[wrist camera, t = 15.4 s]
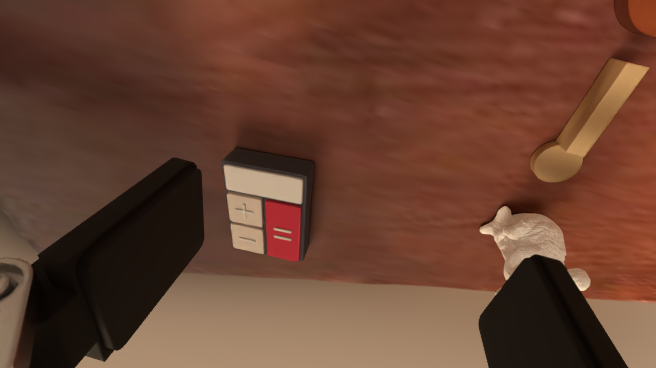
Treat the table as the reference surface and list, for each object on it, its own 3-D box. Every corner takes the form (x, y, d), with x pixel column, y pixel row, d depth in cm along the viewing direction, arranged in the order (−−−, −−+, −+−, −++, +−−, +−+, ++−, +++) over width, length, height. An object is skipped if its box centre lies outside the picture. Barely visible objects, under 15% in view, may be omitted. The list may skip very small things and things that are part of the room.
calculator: (229, 250, 45) (217, 162, 37) (242, 231, 49) (233, 146, 41) (301, 266, 44) (305, 179, 36) (309, 245, 48) (314, 161, 39)
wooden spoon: (595, 54, 28) (611, 58, 26) (645, 66, 28) (666, 71, 25) (521, 171, 34) (529, 182, 32) (561, 182, 34) (572, 194, 32)
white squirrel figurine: (469, 241, 40) (491, 320, 30) (475, 198, 37) (502, 270, 27) (542, 245, 39) (591, 331, 28) (555, 199, 35) (617, 278, 25)
